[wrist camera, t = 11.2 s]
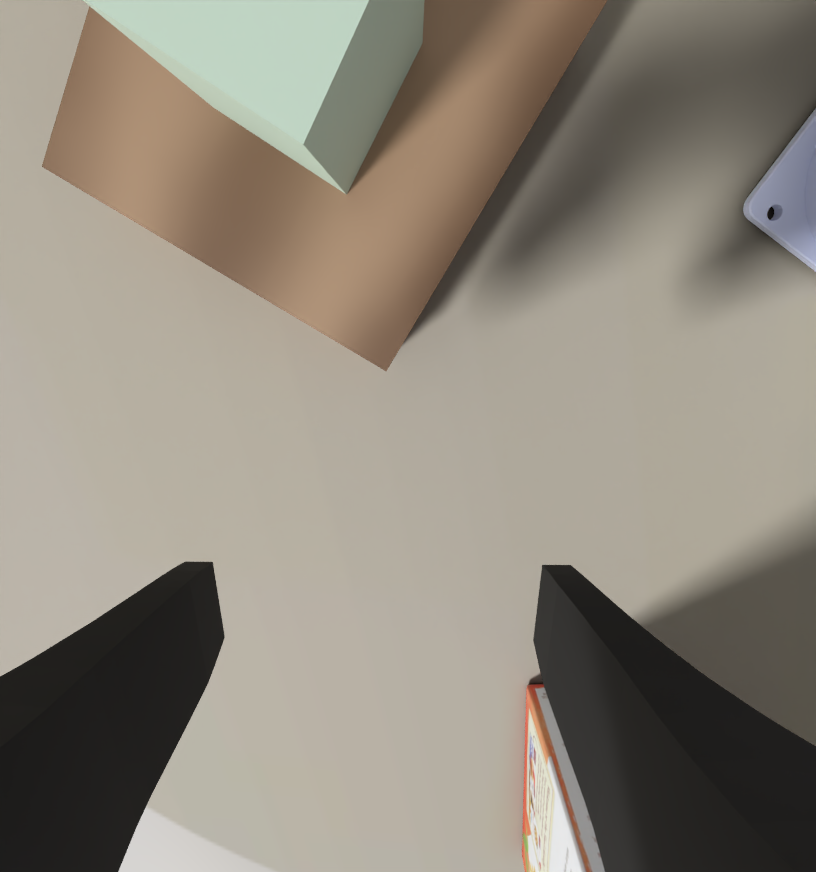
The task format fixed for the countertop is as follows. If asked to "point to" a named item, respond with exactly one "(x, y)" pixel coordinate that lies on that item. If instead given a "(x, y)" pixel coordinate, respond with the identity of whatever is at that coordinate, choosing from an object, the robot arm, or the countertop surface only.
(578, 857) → the cracker box
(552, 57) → the walnut block
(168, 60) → the sage block
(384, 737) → the countertop surface
